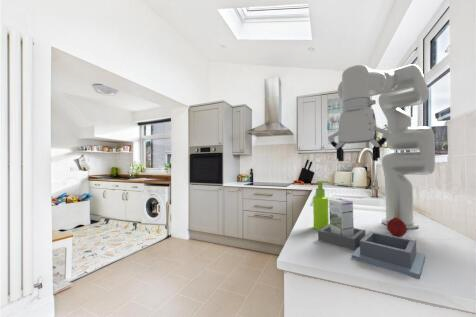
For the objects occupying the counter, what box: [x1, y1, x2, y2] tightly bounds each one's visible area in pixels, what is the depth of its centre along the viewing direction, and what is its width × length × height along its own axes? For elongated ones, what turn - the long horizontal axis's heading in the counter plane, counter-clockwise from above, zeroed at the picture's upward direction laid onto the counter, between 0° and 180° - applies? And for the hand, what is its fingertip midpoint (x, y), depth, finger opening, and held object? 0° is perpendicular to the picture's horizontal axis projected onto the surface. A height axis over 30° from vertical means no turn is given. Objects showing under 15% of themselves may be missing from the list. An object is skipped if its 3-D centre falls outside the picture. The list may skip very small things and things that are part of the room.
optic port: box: [350, 231, 426, 279], centre depth 60 cm, size 15×15×5 cm
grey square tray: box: [317, 223, 366, 251], centre depth 74 cm, size 12×12×4 cm
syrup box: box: [328, 197, 355, 237], centre depth 74 cm, size 6×6×14 cm
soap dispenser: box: [312, 180, 331, 231], centre depth 87 cm, size 6×7×20 cm
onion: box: [386, 216, 408, 238], centre depth 75 cm, size 6×6×8 cm
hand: (357, 161), depth 65 cm, fingers open, 9 cm apart
